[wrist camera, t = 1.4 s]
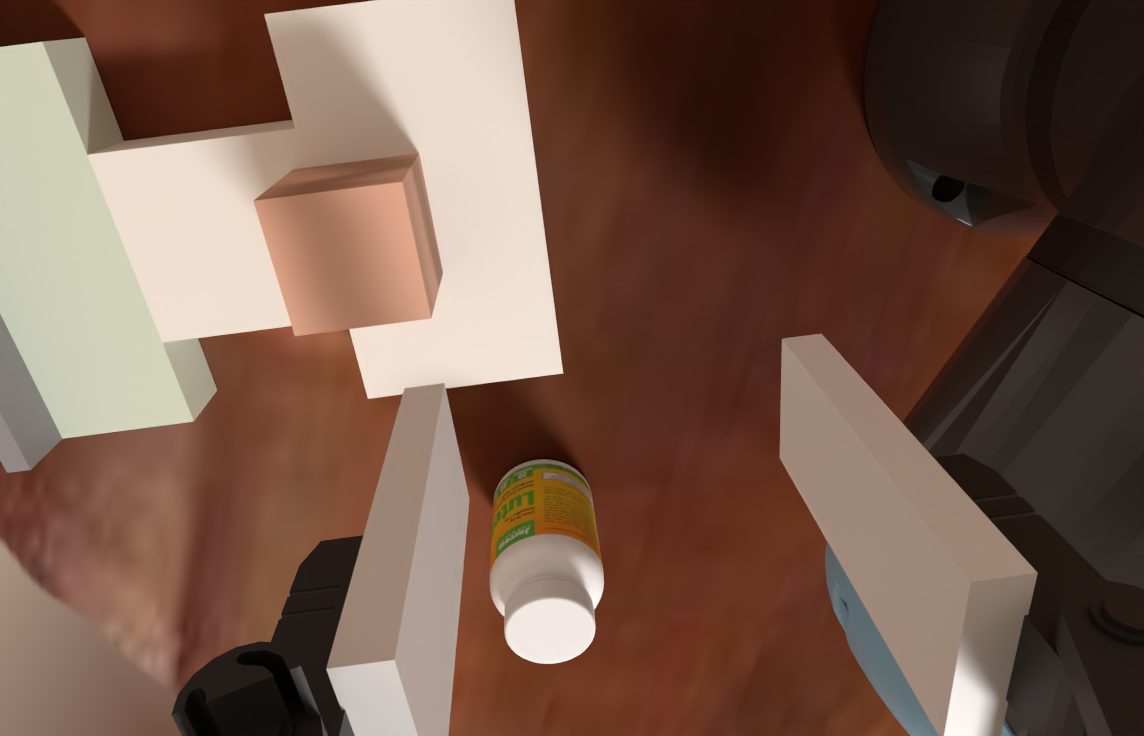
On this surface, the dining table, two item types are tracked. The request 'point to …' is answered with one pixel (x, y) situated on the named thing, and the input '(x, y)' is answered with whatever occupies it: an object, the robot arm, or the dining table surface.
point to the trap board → (232, 228)
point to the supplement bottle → (545, 561)
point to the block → (352, 244)
